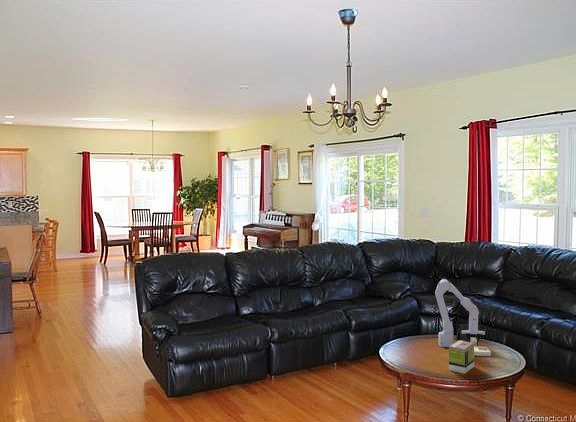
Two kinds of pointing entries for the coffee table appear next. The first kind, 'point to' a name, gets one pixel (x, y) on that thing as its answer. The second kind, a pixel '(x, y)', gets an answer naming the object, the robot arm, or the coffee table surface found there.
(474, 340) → the aluminium peg
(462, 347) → the tea box
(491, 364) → the coffee table surface
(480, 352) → the socket board
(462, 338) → the door stopper
